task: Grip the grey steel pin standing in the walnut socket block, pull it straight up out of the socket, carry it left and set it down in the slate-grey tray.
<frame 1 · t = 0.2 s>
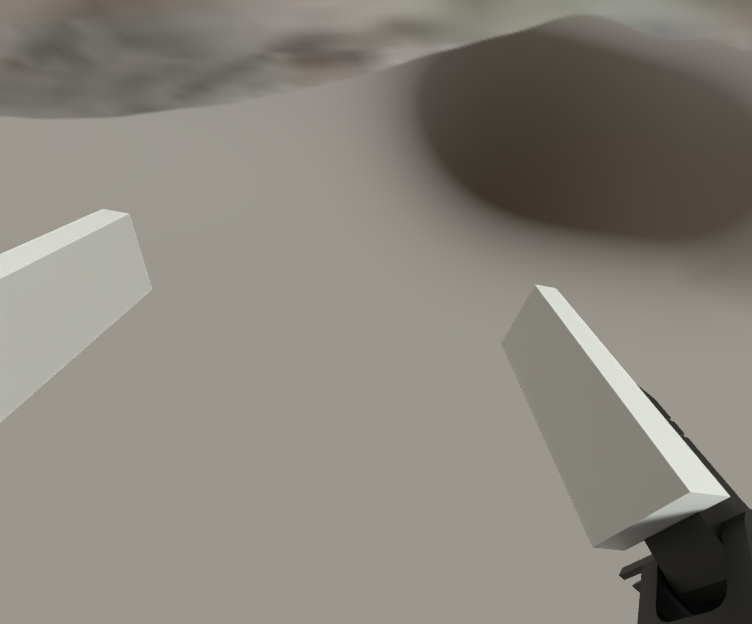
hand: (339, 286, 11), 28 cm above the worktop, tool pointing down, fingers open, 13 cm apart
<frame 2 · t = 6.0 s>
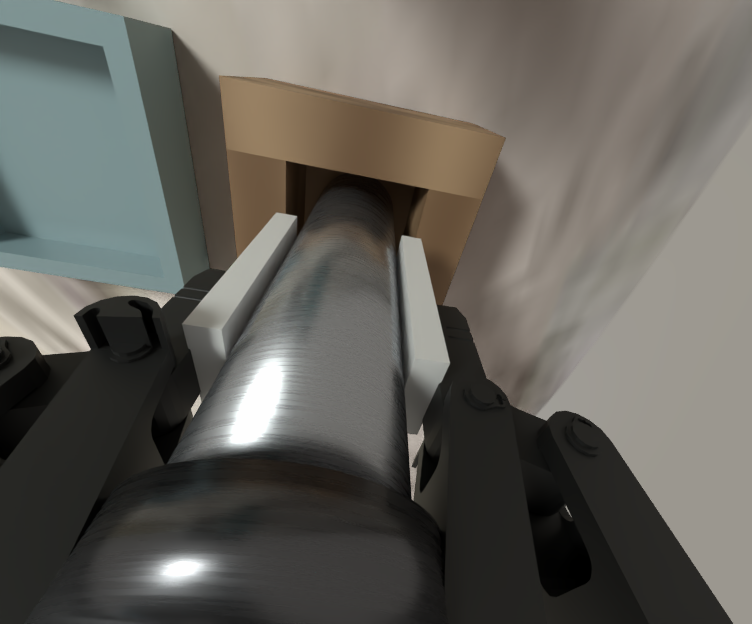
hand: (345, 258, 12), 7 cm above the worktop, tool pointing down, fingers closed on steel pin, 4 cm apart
steel pin: (356, 211, 17), point 1 cm above the worktop, touching gripper, socket block
socket block: (357, 206, 18), on the worktop
tray: (77, 152, 16), on the worktop
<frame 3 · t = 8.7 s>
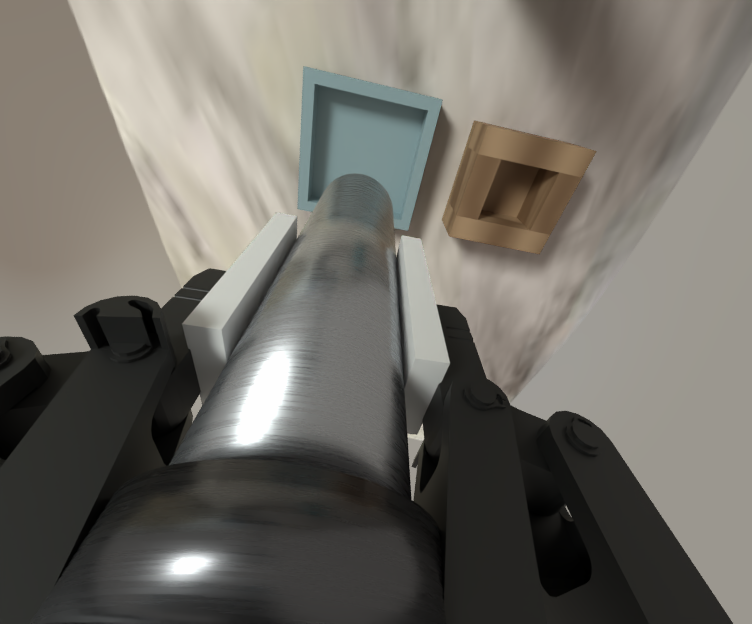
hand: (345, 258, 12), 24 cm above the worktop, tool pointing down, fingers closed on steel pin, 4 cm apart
steel pin: (356, 212, 17), point 19 cm above the worktop, touching gripper
socket block: (500, 184, 33), on the worktop
tray: (364, 154, 32), on the worktop
when the fingers open (8 cm above the worktop, at t = 11.9 s): steel pin drops 1 cm, resting on tray.
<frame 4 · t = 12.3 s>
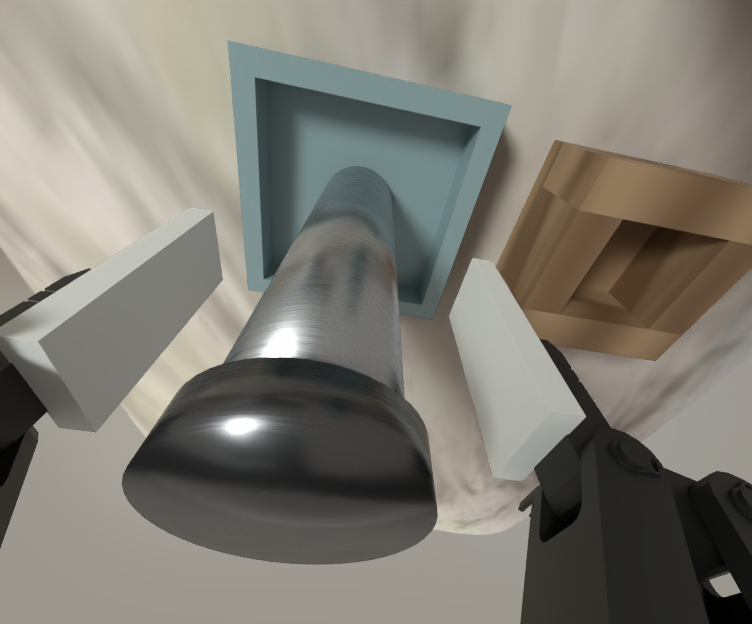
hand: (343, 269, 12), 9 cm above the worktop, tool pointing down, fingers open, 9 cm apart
steel pin: (357, 203, 18), point 1 cm above the worktop, touching tray
socket block: (586, 241, 20), on the worktop
tray: (359, 197, 19), on the worktop
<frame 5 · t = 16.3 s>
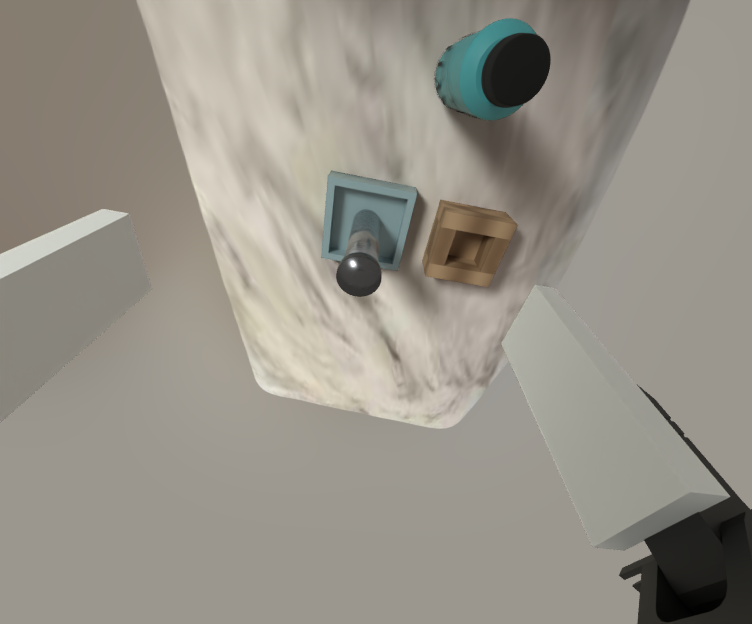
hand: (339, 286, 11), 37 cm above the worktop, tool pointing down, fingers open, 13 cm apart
steel pin: (366, 222, 46), point 1 cm above the worktop, touching tray
beverage bottle: (459, 77, 36), on the worktop
socket block: (461, 238, 48), on the worktop
tray: (366, 220, 47), on the worktop
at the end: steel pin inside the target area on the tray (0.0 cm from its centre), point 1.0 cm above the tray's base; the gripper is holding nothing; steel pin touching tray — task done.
